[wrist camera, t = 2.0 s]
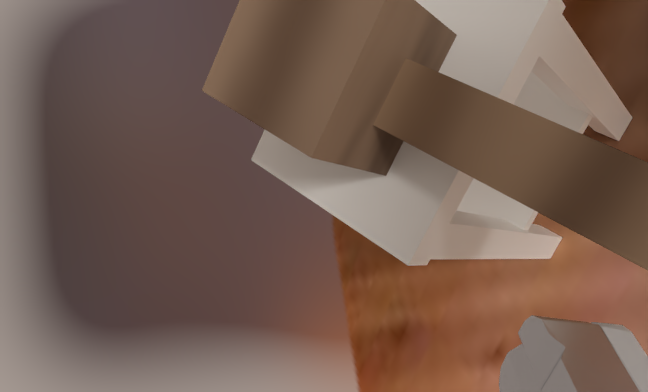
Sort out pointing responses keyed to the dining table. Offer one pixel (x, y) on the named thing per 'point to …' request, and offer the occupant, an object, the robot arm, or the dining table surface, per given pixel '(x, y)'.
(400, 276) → the dining table surface
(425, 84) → the brown long block
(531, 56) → the stool
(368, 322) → the dining table surface
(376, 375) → the dining table surface
